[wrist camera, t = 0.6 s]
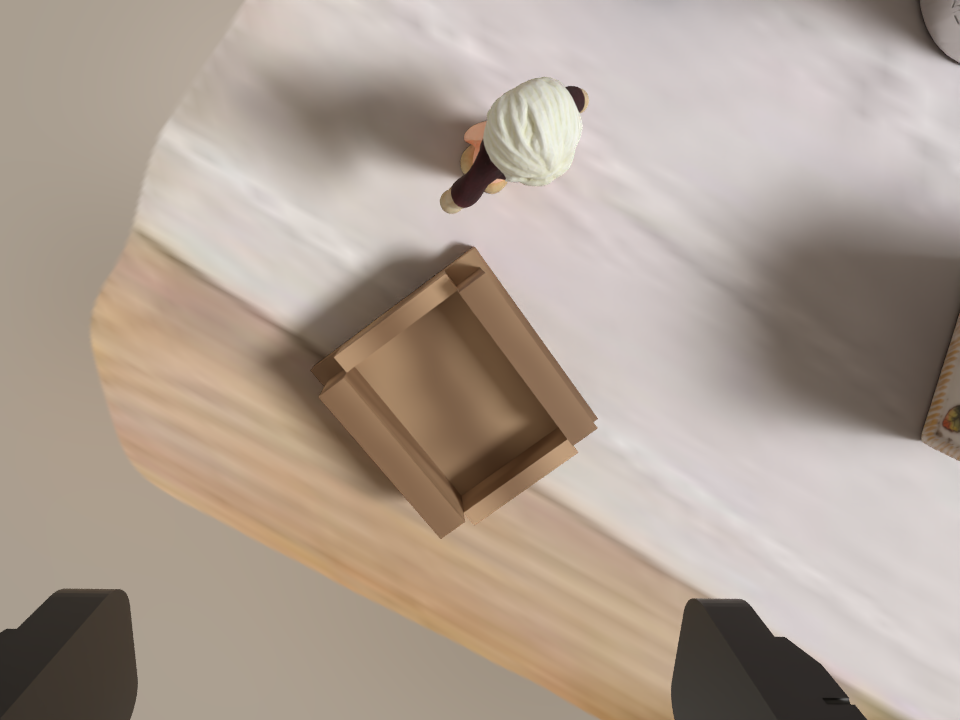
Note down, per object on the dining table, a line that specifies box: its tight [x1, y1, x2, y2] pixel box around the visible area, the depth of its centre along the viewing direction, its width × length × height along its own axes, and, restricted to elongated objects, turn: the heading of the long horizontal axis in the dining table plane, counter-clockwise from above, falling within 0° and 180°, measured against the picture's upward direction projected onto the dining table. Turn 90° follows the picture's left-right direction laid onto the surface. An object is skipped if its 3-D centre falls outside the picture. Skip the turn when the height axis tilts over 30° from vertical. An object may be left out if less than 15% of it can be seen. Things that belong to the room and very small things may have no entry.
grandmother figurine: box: [440, 77, 589, 214], centre depth 24 cm, size 8×4×13 cm, turn 139°
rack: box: [310, 247, 598, 539], centre depth 31 cm, size 11×12×4 cm
